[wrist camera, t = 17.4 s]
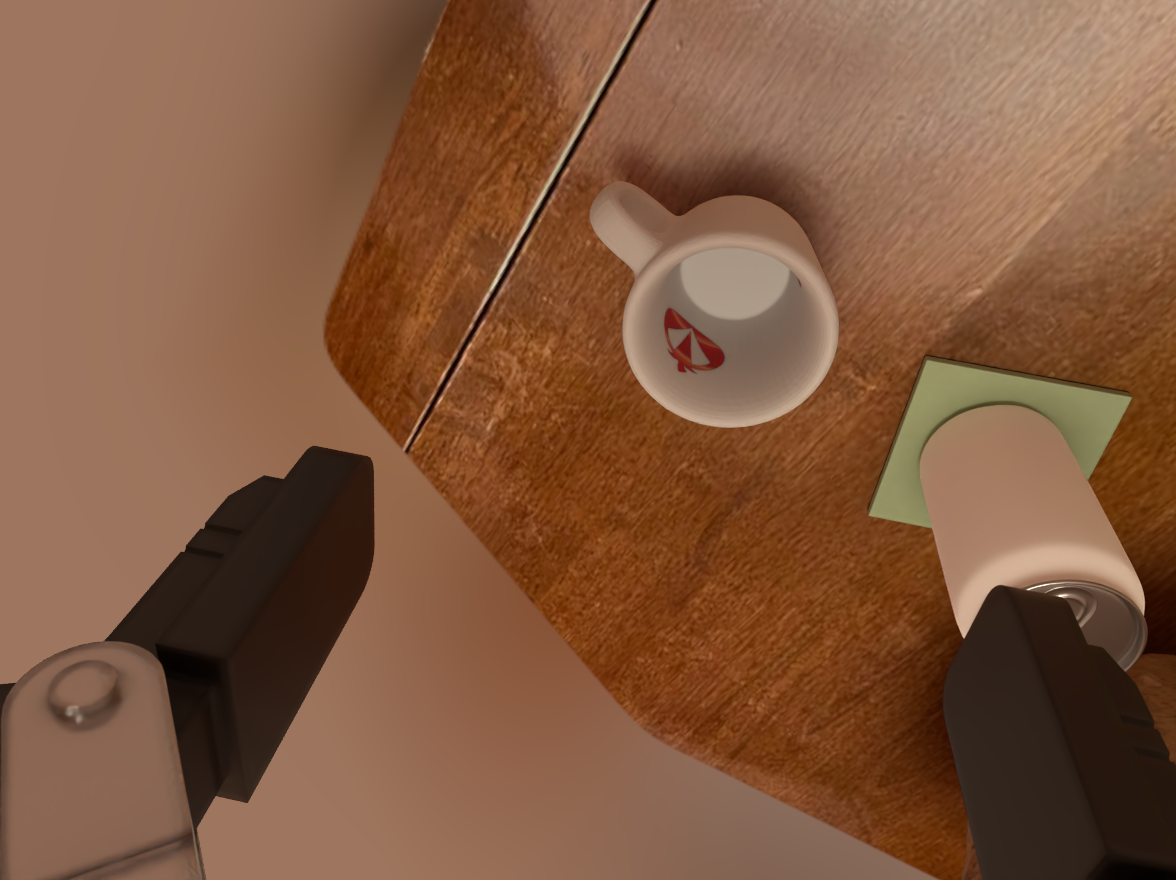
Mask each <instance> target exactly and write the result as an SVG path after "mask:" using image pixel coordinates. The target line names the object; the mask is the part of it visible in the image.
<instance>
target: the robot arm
mask: <svg viewBox="0 0 1176 880" xmlns="http://www.w3.org/2000/svg"><path fill="white" fill-rule="evenodd" d="M373 556H374V470H373V463H372V460H371V458H370V457H368V456H363V455H358V454H353V453H348V452H343V451H338V450H333V449H328V448H323V447H318V446H312V447H310V448H309V449H307V451H306V452H305V453H304V454H303V455H302V457H301V458H300V459H299V460H298V462H297V463H296V464H295V465H294V467H293V468H292V469H291V471H290V472H289V473H288V474H287V476H286V477H285V478H284V479H280V478H275V477H270V476H265V475H264V476H262V477H261V478H259V479H257V480H255V481H254V482H252V483H250V484H248V485H247V486H245V487H243V488H241V489H240V490H238V491H236V492H235V493H233V494H231V495H229V496H228V497H227V499H226V500H225V501H224V502H223V503H222V504H221V505H220V507H219V508H218V509H217V510H216V511H215V512H214V514H213V515H212V516H211V517H210V518H209V519H208V521H207V522H206V523H205V528H204V529H200V530H199V531H198V532H197V533H196V535H195V536H194V537H193V538H192V539H191V541H190V542H189V543H188V544H187V545H186V550H185V552H180V553H179V554H178V556H177V557H176V558H175V559H174V560H173V562H172V563H171V564H170V565H169V566H168V567H167V569H166V570H165V571H164V572H163V573H162V575H161V576H160V577H159V578H158V579H157V580H156V582H155V583H154V584H153V585H152V586H151V587H150V588H149V590H148V591H147V592H146V593H145V594H144V596H143V597H142V598H141V599H140V601H138V603H137V604H136V605H135V606H134V607H133V608H132V610H131V611H130V612H129V613H128V614H127V616H126V617H125V618H124V619H123V620H122V621H121V622H120V624H119V625H118V626H117V627H116V628H115V629H114V631H113V632H112V633H111V634H110V635H109V637H107V638H106V639H105V641H104V642H93V643H88V644H83V645H79V646H76V647H72V648H69V649H67V650H64V651H62V652H59V653H57V654H54V655H53V656H51V657H49V658H47V659H45V660H43V661H42V662H40V663H39V664H37V665H36V666H35V667H33V668H32V669H30V670H29V671H28V672H27V673H26V674H25V675H23V676H22V678H20V680H19V681H18V682H17V683H9V684H0V880H206V875H205V870H204V864H203V859H202V853H201V848H200V842H199V837H198V832H197V827H198V825H199V823H200V822H201V820H202V818H203V816H204V815H205V813H206V811H207V810H208V808H209V806H210V804H211V803H212V801H213V799H214V798H215V796H218V797H223V798H227V799H232V800H237V801H241V802H245V803H248V801H249V800H250V798H251V796H252V794H253V792H254V790H255V789H256V787H257V785H258V783H259V781H260V779H261V778H262V776H263V774H264V772H265V770H266V768H267V767H268V765H269V763H270V761H271V759H272V757H273V756H274V754H275V752H276V750H277V748H278V747H279V745H280V743H281V741H282V739H283V737H284V736H285V734H286V732H287V730H288V728H289V726H290V725H291V723H292V721H293V719H294V717H295V715H296V714H297V712H298V710H299V708H300V706H301V704H302V703H303V701H304V699H305V697H306V695H307V694H308V691H309V690H310V688H311V686H312V684H313V683H314V681H315V679H316V677H317V675H318V673H319V672H320V670H321V668H322V666H323V664H324V662H325V661H326V659H327V657H328V655H329V653H330V651H331V650H332V648H333V646H334V644H335V642H336V640H337V639H338V637H339V635H340V633H341V631H342V629H343V628H344V626H345V624H346V622H347V620H348V619H349V617H350V615H351V613H352V611H353V609H354V608H355V606H356V604H357V602H358V600H359V598H360V597H361V595H362V592H363V591H364V588H365V586H366V583H367V581H368V578H369V575H370V571H371V567H372V562H373ZM943 714H944V719H945V724H946V728H947V732H948V736H949V741H950V745H951V749H952V753H953V758H954V762H955V766H956V770H957V775H958V779H959V783H960V787H961V792H962V796H963V800H964V804H965V809H966V813H967V817H968V822H969V826H970V830H971V834H972V839H973V843H974V847H975V851H976V856H977V860H978V864H979V868H980V873H981V877H982V880H1176V765H1175V763H1174V762H1171V761H1170V760H1169V755H1170V752H1169V750H1168V748H1167V746H1166V744H1165V742H1164V740H1163V738H1162V736H1161V734H1160V732H1159V730H1157V729H1154V723H1155V722H1154V720H1153V717H1152V715H1151V713H1150V711H1149V709H1148V707H1147V705H1146V703H1145V701H1144V699H1143V697H1142V695H1141V693H1140V691H1139V689H1138V687H1137V684H1136V683H1135V682H1134V681H1133V680H1132V679H1131V678H1130V677H1129V675H1128V674H1127V673H1126V672H1125V671H1124V670H1123V669H1122V668H1121V667H1120V666H1119V665H1118V663H1117V662H1116V661H1115V660H1114V659H1113V658H1112V657H1111V656H1110V655H1109V654H1108V653H1107V651H1106V650H1105V649H1104V648H1103V647H1099V646H1094V645H1089V644H1087V642H1086V639H1085V637H1084V635H1083V633H1082V630H1081V628H1080V626H1079V624H1078V621H1077V619H1076V617H1075V615H1074V612H1073V610H1072V608H1071V606H1070V604H1069V603H1068V602H1067V600H1066V599H1064V598H1063V597H1059V596H1055V595H1050V594H1045V593H1040V592H1035V591H1030V590H1025V589H1020V588H1015V587H1010V586H1005V585H997V586H995V587H994V588H993V589H991V591H990V592H989V593H988V595H987V596H986V598H985V600H984V602H983V604H982V606H981V608H980V610H979V611H978V613H977V615H976V617H975V619H974V621H973V623H972V625H971V627H970V629H969V631H968V632H967V634H966V636H965V638H964V640H963V642H962V644H961V646H960V648H959V650H958V651H957V653H956V655H955V657H954V659H953V661H952V663H951V665H950V667H949V669H948V672H947V675H946V679H945V684H944V690H943Z"/></svg>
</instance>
